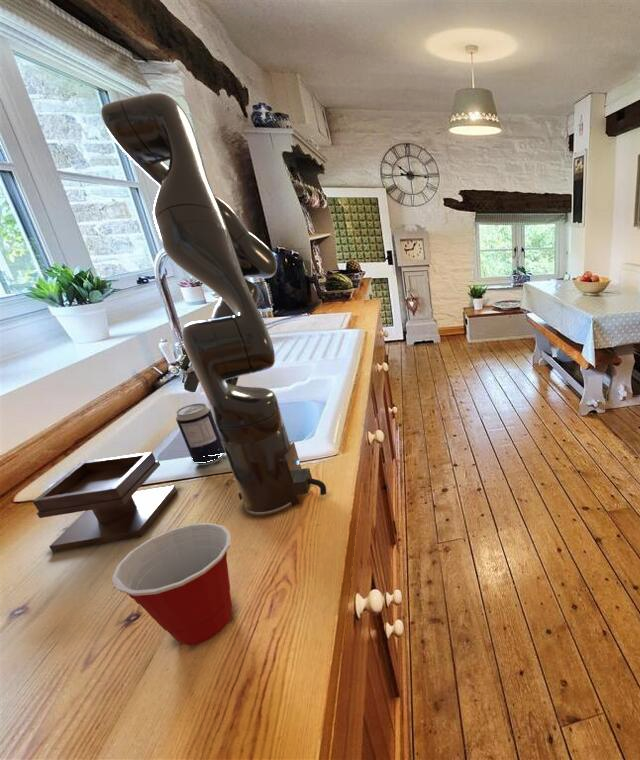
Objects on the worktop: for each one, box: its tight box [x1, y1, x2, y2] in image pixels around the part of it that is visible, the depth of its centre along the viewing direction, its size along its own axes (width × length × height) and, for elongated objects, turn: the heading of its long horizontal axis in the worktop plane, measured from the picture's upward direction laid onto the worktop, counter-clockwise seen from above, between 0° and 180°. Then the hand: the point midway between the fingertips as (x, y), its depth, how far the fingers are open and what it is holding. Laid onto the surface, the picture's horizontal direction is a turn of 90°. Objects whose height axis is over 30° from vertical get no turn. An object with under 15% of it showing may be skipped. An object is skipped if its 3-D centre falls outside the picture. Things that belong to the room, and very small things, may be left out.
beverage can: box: [175, 402, 226, 466], centre depth 84 cm, size 6×6×12 cm
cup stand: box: [32, 451, 178, 553], centre depth 68 cm, size 12×12×9 cm
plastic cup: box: [111, 522, 233, 647], centre depth 49 cm, size 11×11×12 cm
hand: (208, 391), depth 85 cm, fingers open, 8 cm apart
